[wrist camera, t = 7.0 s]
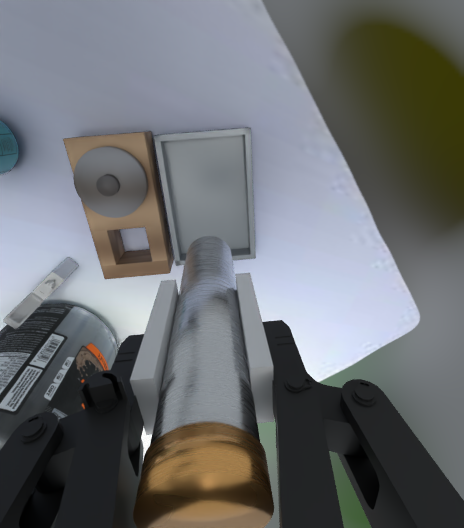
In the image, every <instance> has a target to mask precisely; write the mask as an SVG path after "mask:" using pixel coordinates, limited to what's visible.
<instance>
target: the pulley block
mask: <svg viewBox="0 0 464 528" xmlns="http://www.w3.org/2000/svg"><path fill="white" fill-rule="evenodd" d="M63 141H64V144H65V147H66V151H67V154H68V157H69V161H70V164H71V167H72V171H73V174H74V184H75V188H76V191H77V193H78V195H79V197H80V198H81V201H82V204H83V207H84V211H85V214H86V217H87V221H88V224H89V228H90V231H91V234H92V238H93V241H94V244H95V248H96V251H97V254H98V258H99V261H100V264H101V268H102V271H103V274H104V278H105V279H113V278H124V277H135V276H145V275H156V274H167V273H170V271H171V267H172V263H173V260H174V259H173V254H172V248H171V242H170V237H169V231H168V225H167V220H166V214H165V208H164V202H163V197H162V191H161V185H160V180H159V174H158V168H157V163H156V157H155V151H154V145H153V140H152V134H151V131H149V132H136V133H123V134H111V135H98V136H86V137H75V138H66V139H63ZM140 227H145V228H146V233H147V238H148V242H149V247H150V249H149V250H138V251H127V252H125V250H124V246H123V243H122V239H121V235H120V231H119V229H129V228H140Z"/></svg>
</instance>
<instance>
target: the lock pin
mask: <svg viewBox="0 0 464 528" xmlns="http://www.w3.org/2000/svg"><path fill="white" fill-rule="evenodd" d="M273 512H274V505H273V498H272V491H271V485H270V479H269V473H268V466H267V460H266V454H265V451H264V448H263V446H262V445H261V443H260V439H259V432H258V425H257V419H256V412H255V406H254V399H253V393H252V390H251V384H250V377H249V370H248V363H247V357H246V350H245V343H244V337H243V330H242V323H241V316H240V310H239V303H238V296H237V288H236V280H235V273H234V267H233V260H232V254H231V250H230V248H229V246H228V245H227V243H226V242H225V241H223V240H222V239H220V238H218V237H214V236H204V237H200V238H198V239H196V240H195V241H194V242H192V243H191V245H190V246H189V248H188V250H187V255H186V260H185V265H184V270H183V276H182V281H181V286H180V291H179V297H178V302H177V307H176V312H175V318H174V323H173V328H172V333H171V339H170V344H169V349H168V355H167V360H166V365H165V370H164V376H163V381H162V386H161V391H160V397H159V402H158V407H157V412H156V418H155V423H154V428H153V433H152V439H151V444H150V447H149V448H148V450H147V451H146V454H145V456H144V461H143V466H142V471H141V476H140V481H139V486H138V491H137V496H136V501H135V506H134V511H133V520H134V523H135V525H136V527H137V528H264V527H265V526H266V525H267V524H268V522H269V521H270V519H271V518H272V515H273Z"/></svg>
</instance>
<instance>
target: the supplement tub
mask: <svg viewBox="0 0 464 528" xmlns="http://www.w3.org/2000/svg"><path fill="white" fill-rule="evenodd" d="M117 352H118V351H117V344H116V340H115V338H114V336H113V334H112V332H111V331H110V330H109V328H108V327H107V326H106V325H105V324H104V323H103V322H102V321H101V320H100V319H99V318H98V317H96V316H95V315H94V314H92V313H91V312H89V311H87V310H85V309H83V308H80V307H77V306H73V305H68V304H41V305H40V306H39V307H38V308H37V309H36V310H35V311H34V312H33V313H32V314H31V315H30V316H29V317H28V318H27V319H26V320H25V321H24V322H23V323H22V324H21V325H20V326H19V327H18V328H15V329H14V328H13V327H11V326H10V325H8V324H7V325H6V326H5V327H4V328H3V329H2V330H1V331H0V450H1V448H2V447H3V446H4V444H5V443H6V441H7V440H8V439H9V437H10V436H11V434H12V433H13V432H14V431H15V430H16V428H17V427H18V426H19V425H20V424H21V423H23V422H24V421H25V420H27V419H28V418H30V417H32V416H34V415H36V414H38V413H43V412H51V413H54V414H55V415H56V416H57V417H58V419H61V418H64V417H66V416H69V415H72V414H74V413H77V412H79V411H81V410H84V409H85V407H84V404H83V402H82V400H81V397H80V395H79V393H78V389H79V387H80V386H81V384H82V383H83V382H84V381H85V380H86V379H87V378H88V377H90V376H92V375H93V374H95V373H98V372H101V371H105V370H111V368H112V365H113V363H114V360H115V358H116V355H117Z"/></svg>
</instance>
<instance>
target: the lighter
mask: <svg viewBox="0 0 464 528" xmlns="http://www.w3.org/2000/svg"><path fill="white" fill-rule="evenodd" d="M77 267H78V264H77V263H76V262H75V261H73V260H72V259H71V258H69V257H67V258H66V259H65V260H64V261H63V262H62V263H61V264H60V265H59V266H58V267H57V268H55V269H54V270H53V271H52V272H51V273H50V274H49V275H48V276H47V277H46V278H45V279H44V280H43V281H42V282H41V283H40V284H39V285H38V286H37V287H36V288H35V289H34V290H33V292H32V293H30V294H29V295H28V296H27V297H26V298H25V299H24V300H23V301H22V302H21V303H20V304H19V305H18V306H17V307H16V308H15V309H13V310H12V311H11V312H10V313H9V314H8V315H7V316H6V317H5V318H4V319H3V322H5V323H6V324H8V325H10V326H11V327H13V328H14V329H15V328H18V327H19V326H20V325H21V324H22V323H23V322H24V321H25V320H26V319H27V318H28V317H29V316H30V315H31V314H32V313H33V312H34V311H35V310H36V309H37V308H38V307H39V306H40V305H41V303H42V302H43V301H44V300H43V299H46V298H47V297H49V296H50V295H51V294H52V293H53V292H54V291H55V290H56V289H57V288H58V287H59V286H60V285H61V284H62V283H63V282H64V281H65V280H66V279H67V278H68V277H69V276H70V274H71V273H72V272H73V271H74V270H75V269H76V268H77Z"/></svg>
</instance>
